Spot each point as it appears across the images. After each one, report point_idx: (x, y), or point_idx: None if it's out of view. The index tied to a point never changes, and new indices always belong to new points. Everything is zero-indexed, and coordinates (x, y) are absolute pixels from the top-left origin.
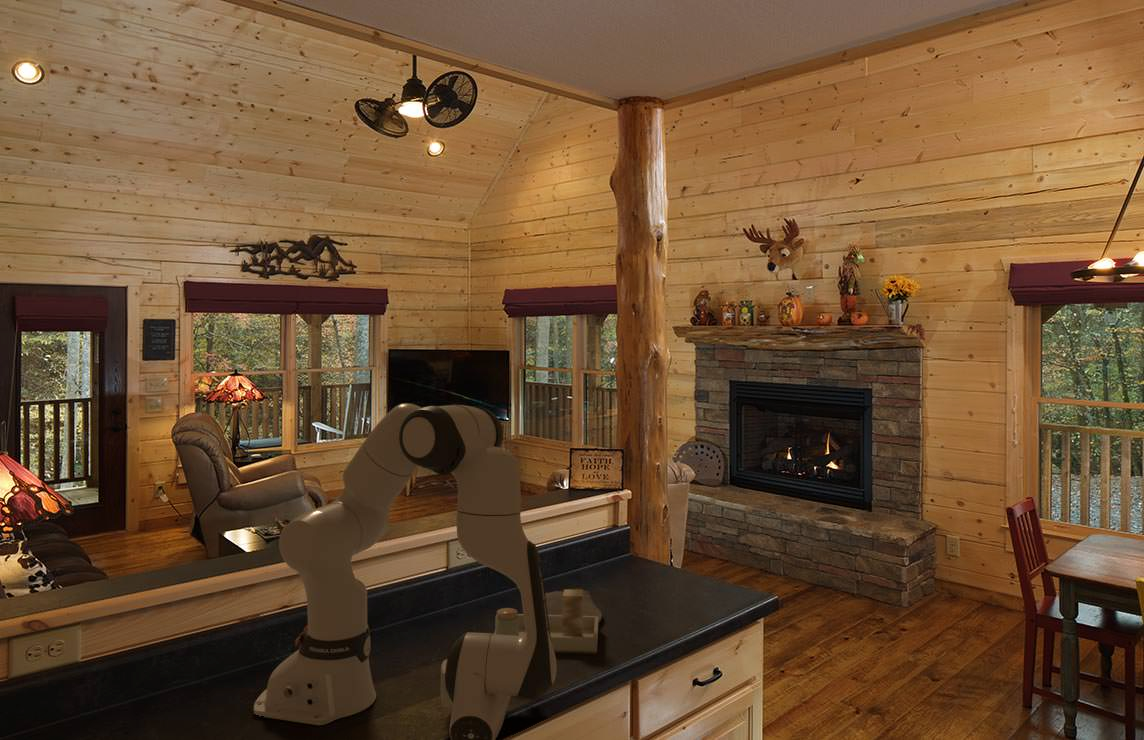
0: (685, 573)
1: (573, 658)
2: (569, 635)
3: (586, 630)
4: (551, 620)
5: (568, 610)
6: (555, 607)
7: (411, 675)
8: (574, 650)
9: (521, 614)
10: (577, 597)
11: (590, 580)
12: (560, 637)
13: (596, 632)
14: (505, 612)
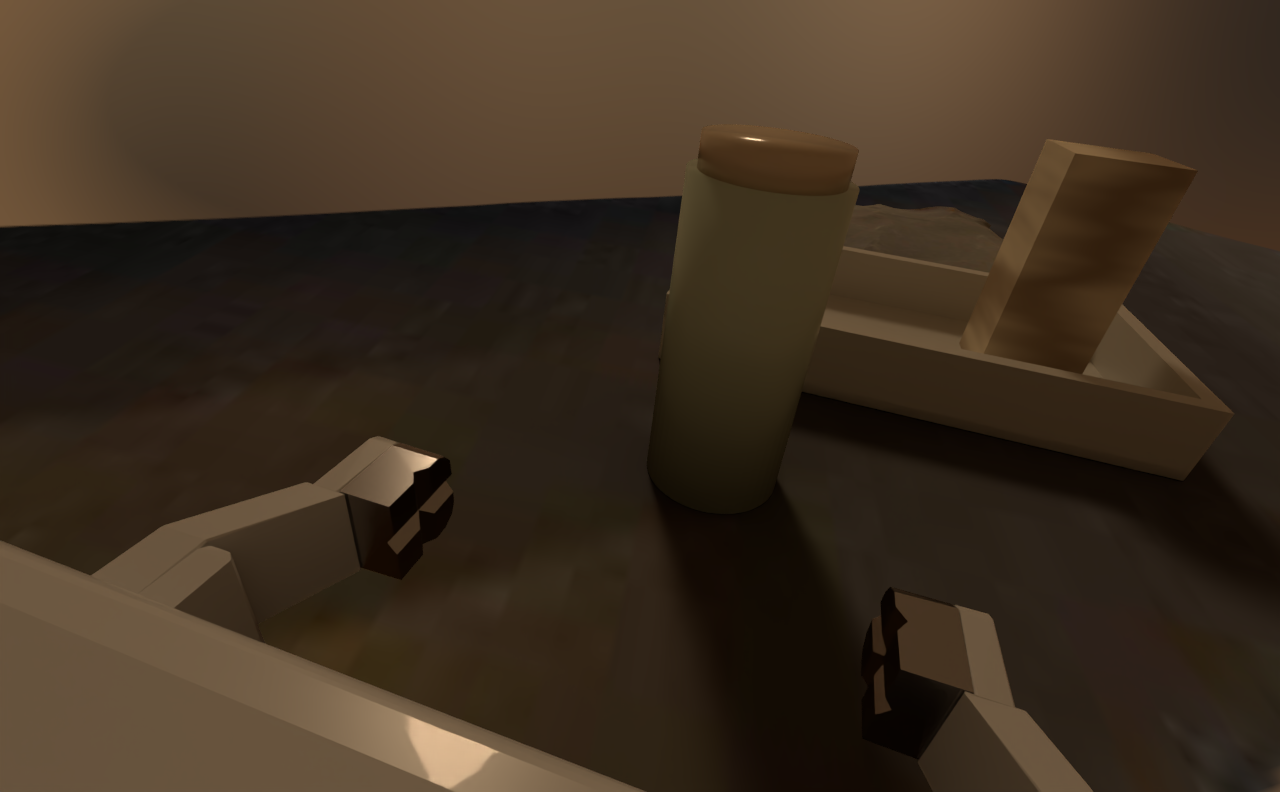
0: (1197, 230)
1: (1071, 488)
2: (1020, 357)
3: None
4: (906, 278)
5: (1070, 239)
6: (897, 242)
7: (174, 425)
8: (1062, 439)
9: None
10: (1163, 173)
11: (949, 205)
12: (1012, 366)
13: (1188, 372)
14: (767, 139)
